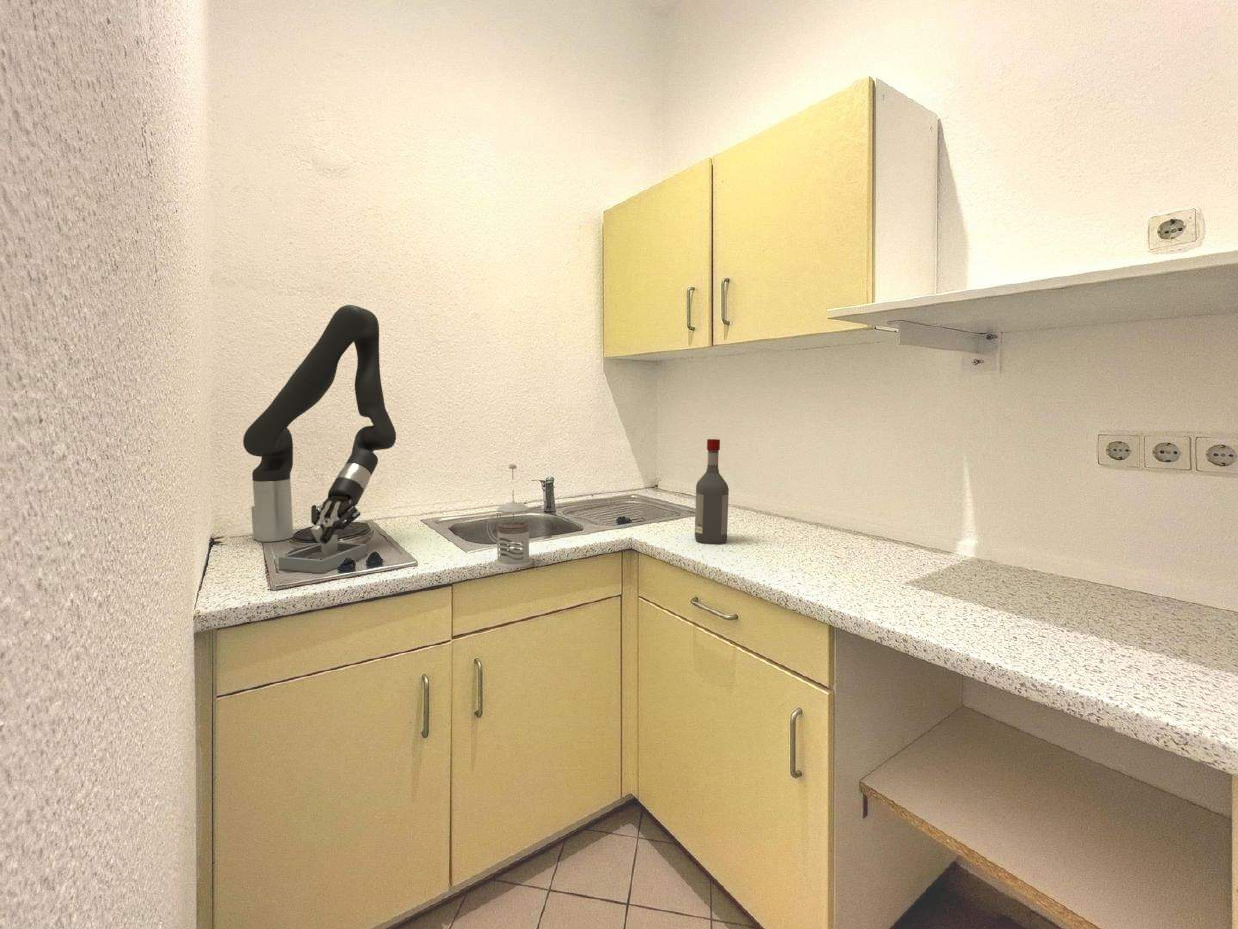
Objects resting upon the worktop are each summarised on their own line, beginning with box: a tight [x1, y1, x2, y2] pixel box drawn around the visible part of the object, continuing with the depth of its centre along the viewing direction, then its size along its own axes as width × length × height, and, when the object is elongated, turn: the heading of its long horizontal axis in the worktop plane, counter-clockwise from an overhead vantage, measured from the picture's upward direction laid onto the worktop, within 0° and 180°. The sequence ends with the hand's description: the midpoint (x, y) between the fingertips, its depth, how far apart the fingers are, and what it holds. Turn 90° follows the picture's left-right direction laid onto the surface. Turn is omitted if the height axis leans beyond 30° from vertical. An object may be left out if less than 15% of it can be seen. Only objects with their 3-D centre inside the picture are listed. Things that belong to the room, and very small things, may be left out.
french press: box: [486, 463, 534, 569], centre depth 141 cm, size 10×12×25 cm
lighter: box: [310, 524, 339, 556], centre depth 139 cm, size 7×2×8 cm, turn 168°
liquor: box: [694, 438, 730, 545], centre depth 165 cm, size 9×9×30 cm
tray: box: [277, 541, 368, 575], centre depth 140 cm, size 12×16×3 cm
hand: (318, 541), depth 137 cm, fingers closed on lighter, 2 cm apart
